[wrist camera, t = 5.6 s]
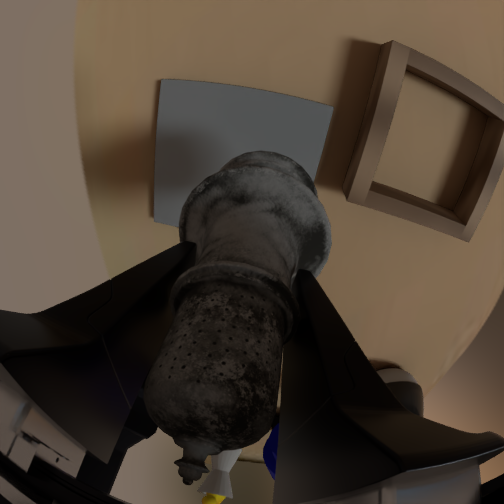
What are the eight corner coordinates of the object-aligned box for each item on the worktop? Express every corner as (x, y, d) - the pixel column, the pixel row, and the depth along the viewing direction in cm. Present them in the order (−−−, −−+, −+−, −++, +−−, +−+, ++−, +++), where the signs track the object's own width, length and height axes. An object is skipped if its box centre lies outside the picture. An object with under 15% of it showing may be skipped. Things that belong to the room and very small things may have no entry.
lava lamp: (249, 451, 61) (226, 561, 33) (223, 451, 65) (199, 553, 37) (228, 441, 58) (199, 561, 29) (202, 441, 62) (172, 550, 33)
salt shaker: (181, 185, 14) (14, 400, 4) (283, 120, 11) (183, 419, 1) (247, 270, 16) (187, 495, 6) (344, 225, 14) (384, 498, 4)
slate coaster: (292, 248, 24) (291, 253, 23) (157, 217, 24) (154, 221, 23) (332, 106, 17) (333, 107, 16) (166, 78, 17) (161, 79, 16)
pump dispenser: (373, 351, 30) (383, 472, 18) (431, 363, 30) (449, 464, 18) (333, 389, 36) (329, 488, 24) (388, 397, 36) (393, 485, 24)
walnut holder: (456, 227, 20) (468, 242, 18) (342, 187, 20) (346, 201, 18) (501, 110, 13) (518, 116, 11) (381, 44, 13) (392, 40, 11)
